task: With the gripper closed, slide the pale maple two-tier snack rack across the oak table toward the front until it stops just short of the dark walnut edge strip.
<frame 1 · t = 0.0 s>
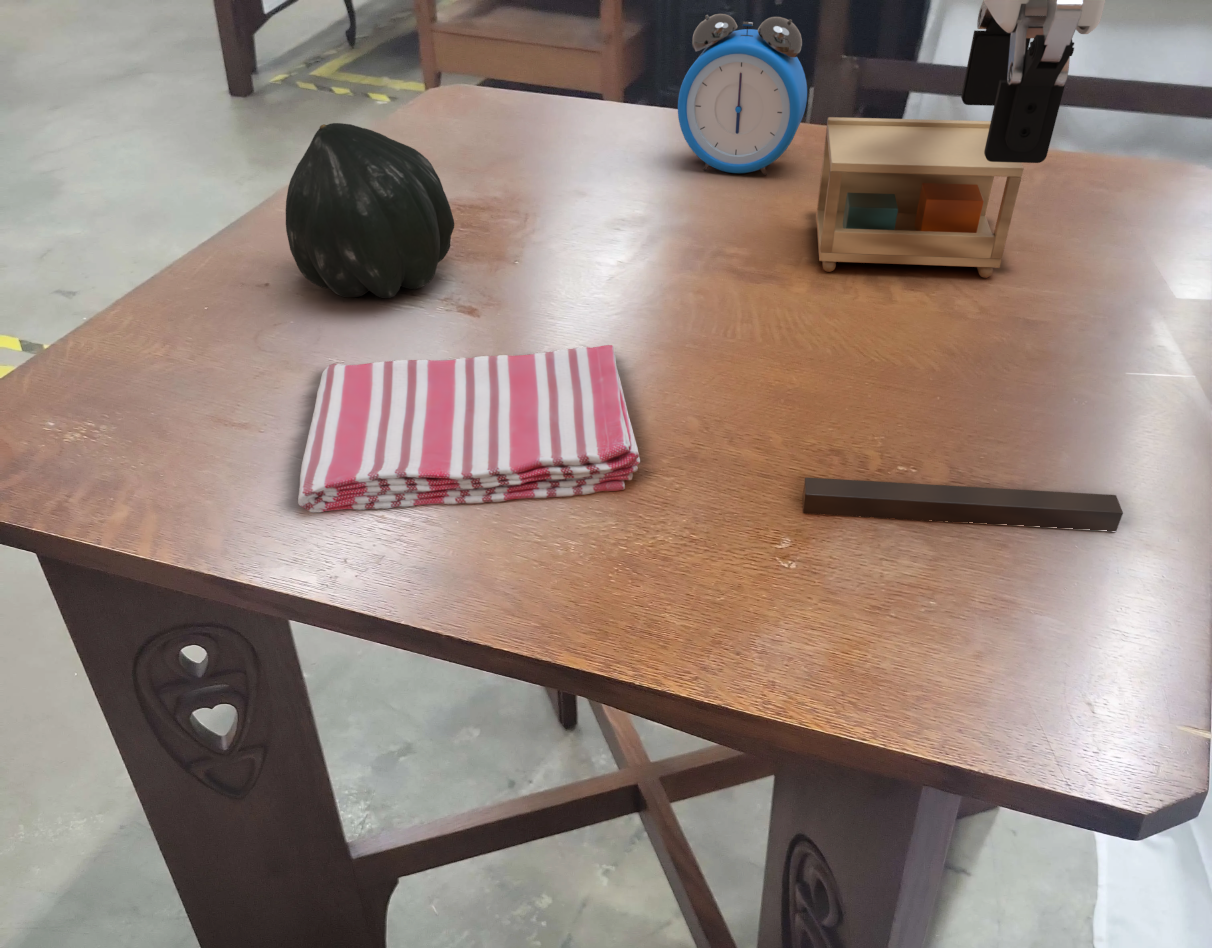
hand: (999, 130, 61), 22 cm above the table, tool pointing down, fingers open, 9 cm apart
edge strip: (955, 514, 70), on the table
snack rack: (901, 254, 100), on the table
dish towel: (471, 439, 78), on the table
squash: (380, 282, 98), on the table
alarm clock: (738, 168, 118), on the table
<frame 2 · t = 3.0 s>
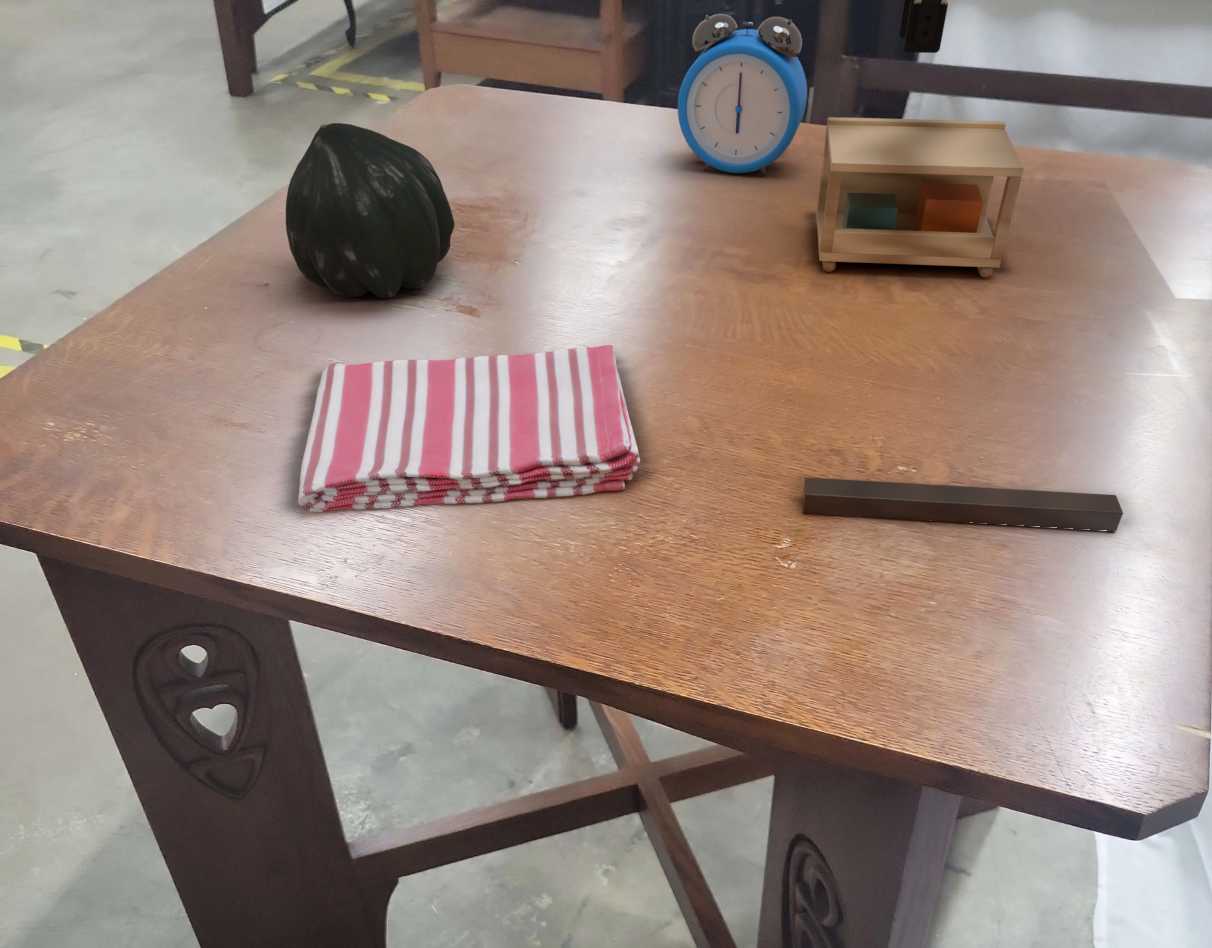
hand: (918, 42, 99), 15 cm above the table, tool pointing down, fingers open, 4 cm apart
nothing on the table moved.
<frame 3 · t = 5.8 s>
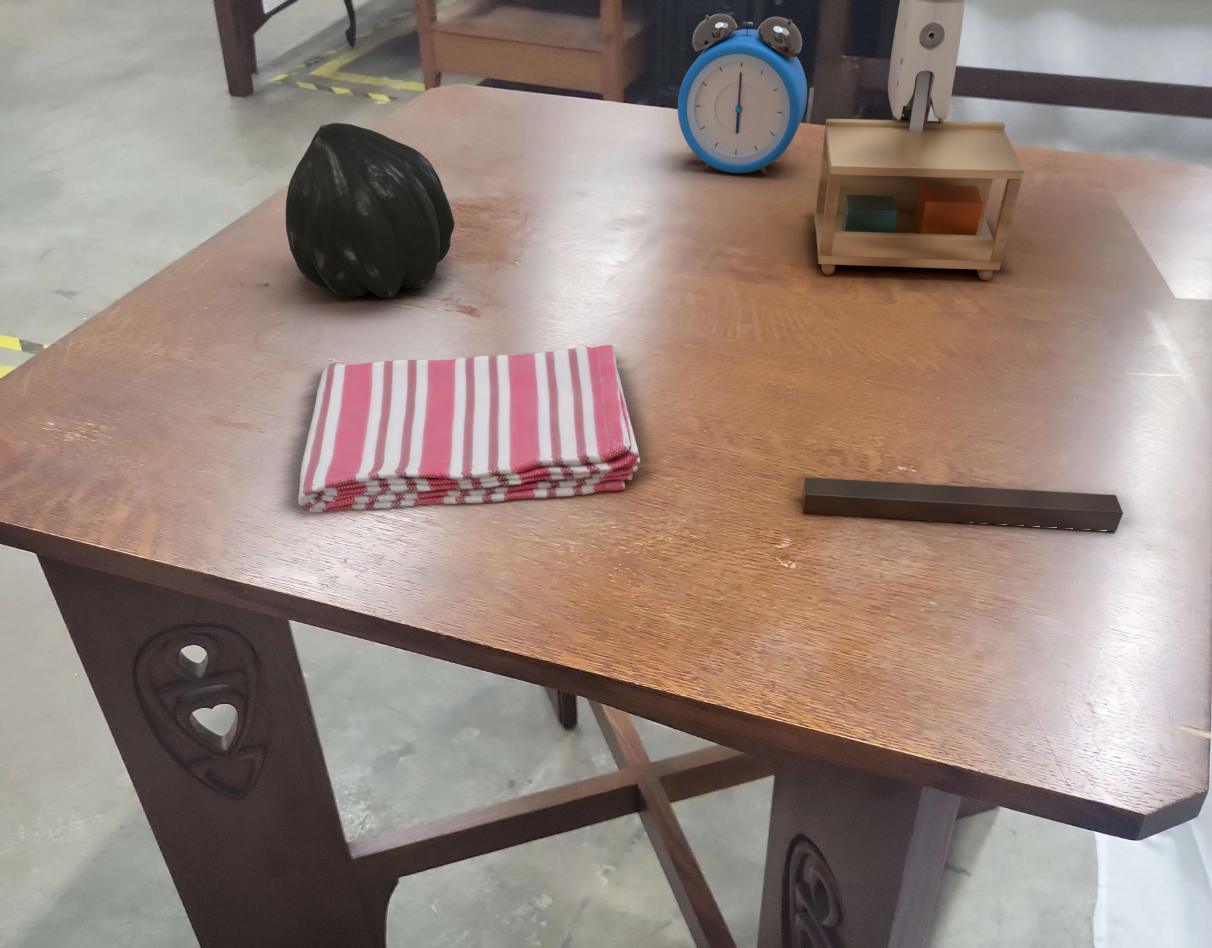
hand: (897, 184, 104), 3 cm above the table, tool pointing down, fingers closed
snack rack: (900, 256, 100), on the table, touching gripper
everything else where it was.
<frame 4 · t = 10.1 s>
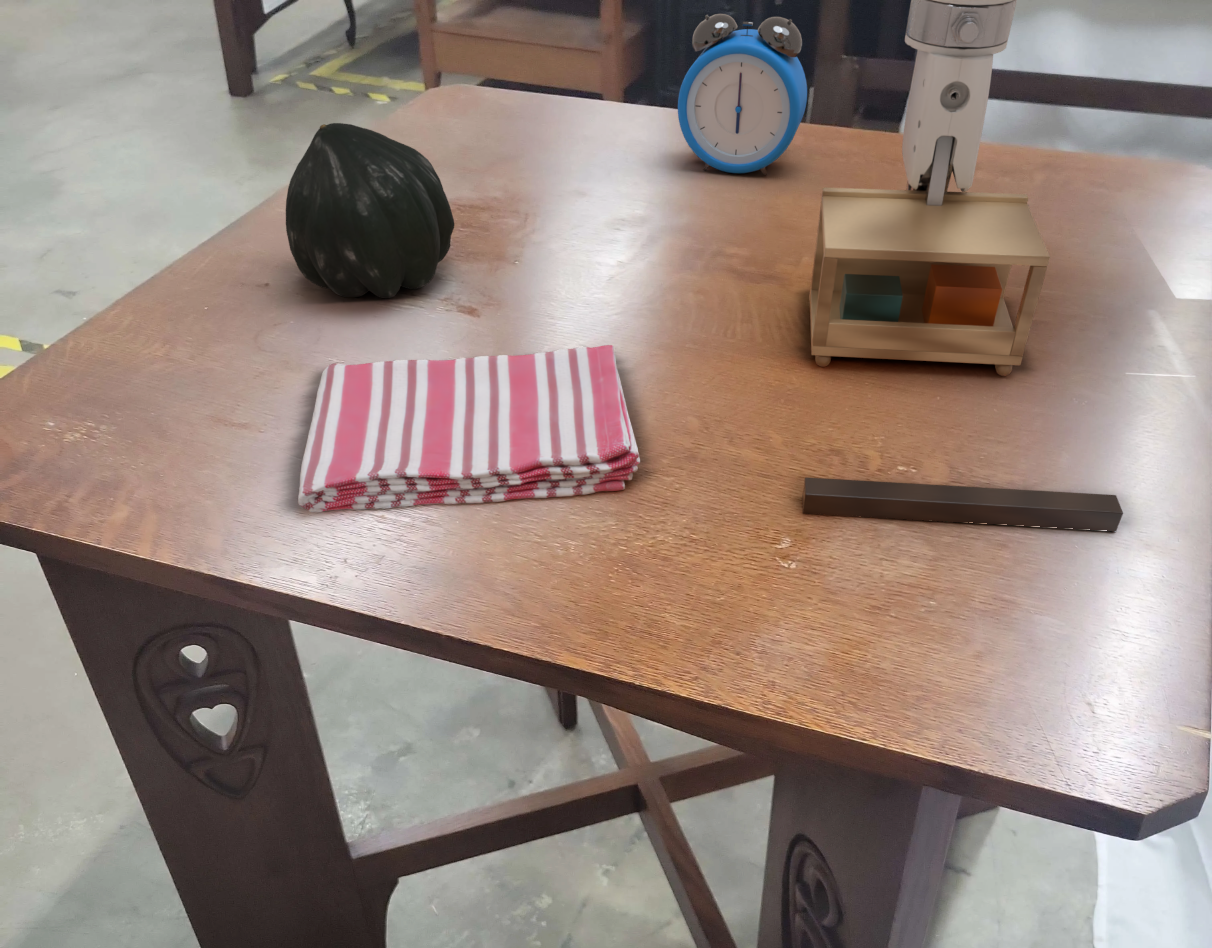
hand: (912, 257, 92), 3 cm above the table, tool pointing down, fingers closed
snack rack: (906, 343, 87), on the table, touching gripper
everything else where it was.
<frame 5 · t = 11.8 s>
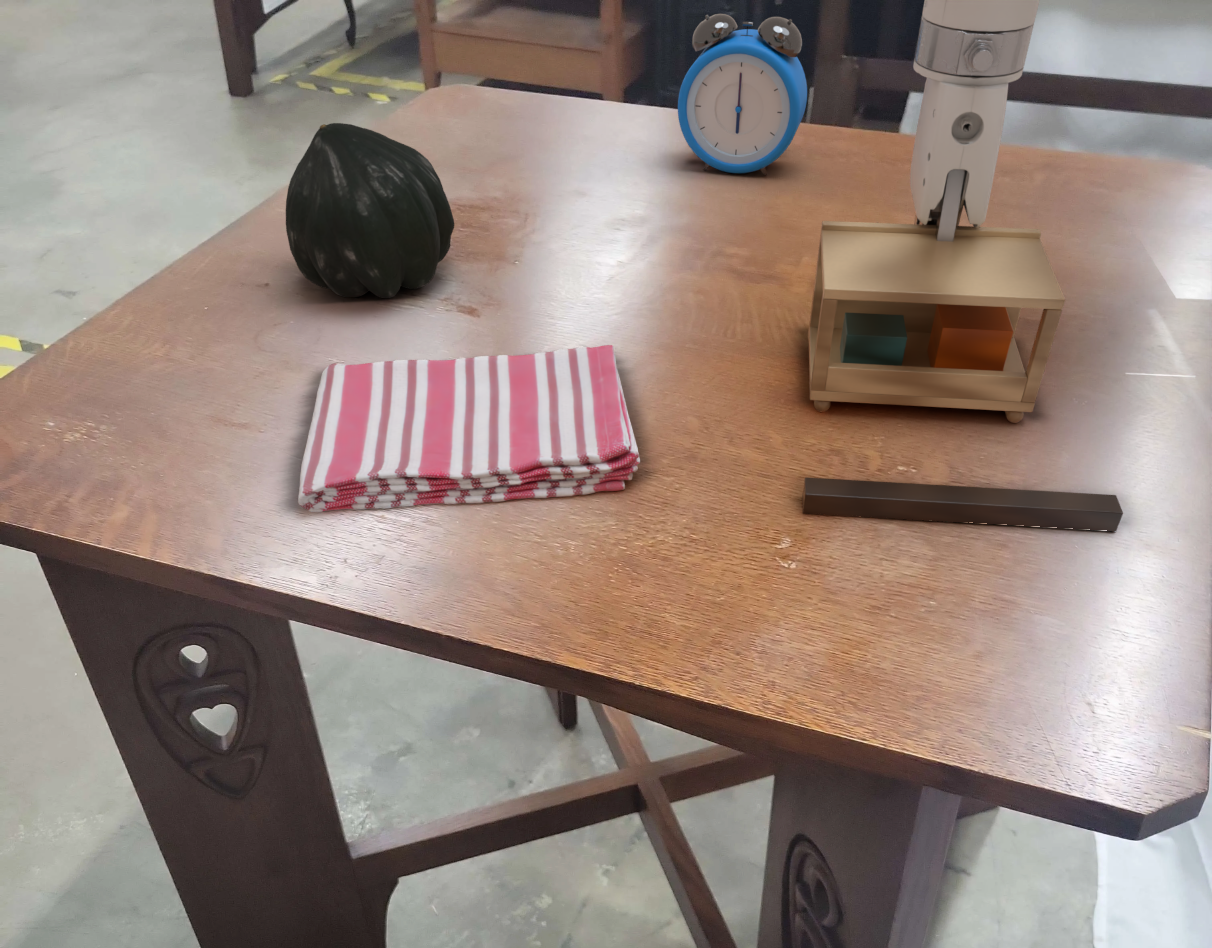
hand: (921, 293, 86), 3 cm above the table, tool pointing down, fingers closed
snack rack: (911, 385, 82), on the table, touching gripper
everything else where it was.
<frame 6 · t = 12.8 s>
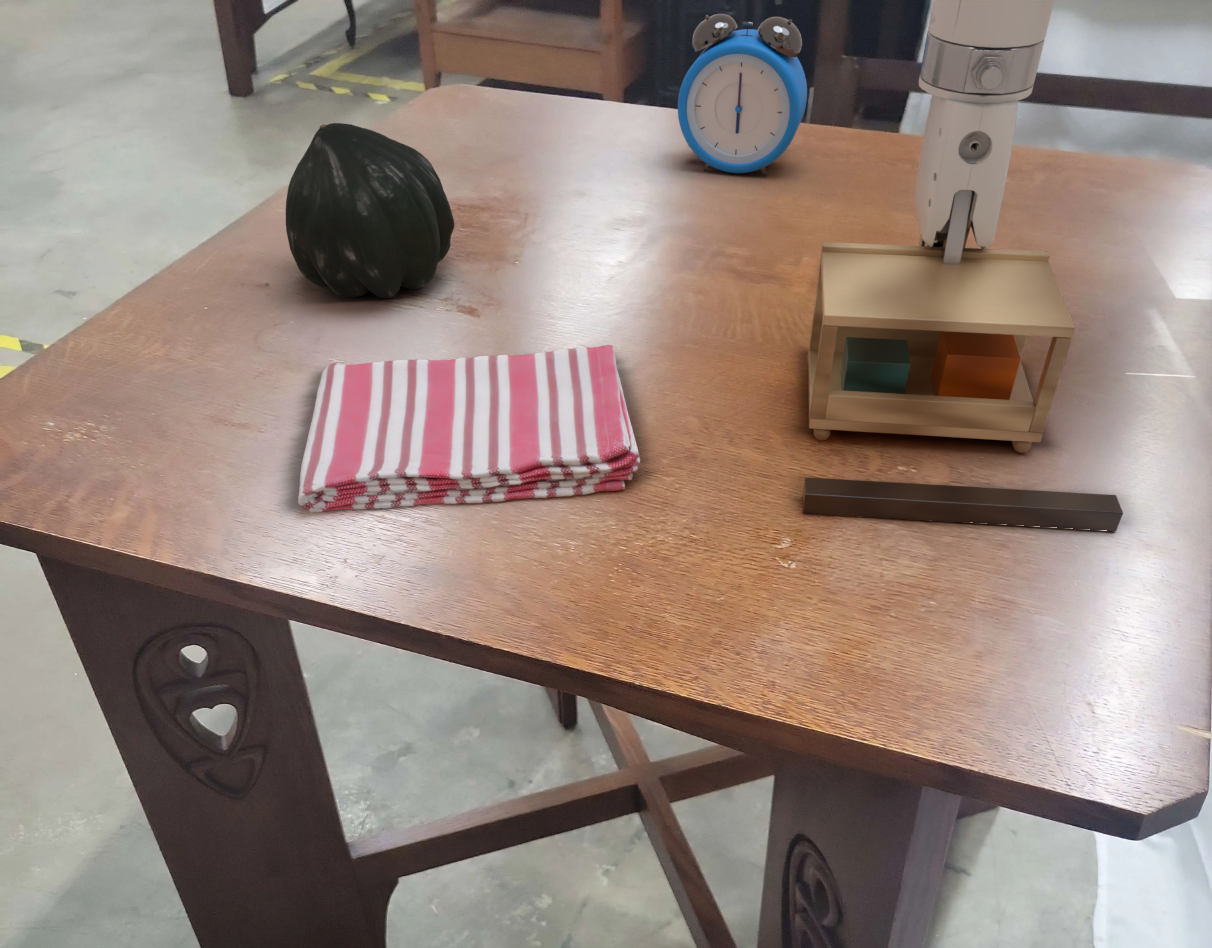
hand: (926, 315, 84), 3 cm above the table, tool pointing down, fingers closed
snack rack: (914, 412, 79), on the table, touching gripper
everything else where it was.
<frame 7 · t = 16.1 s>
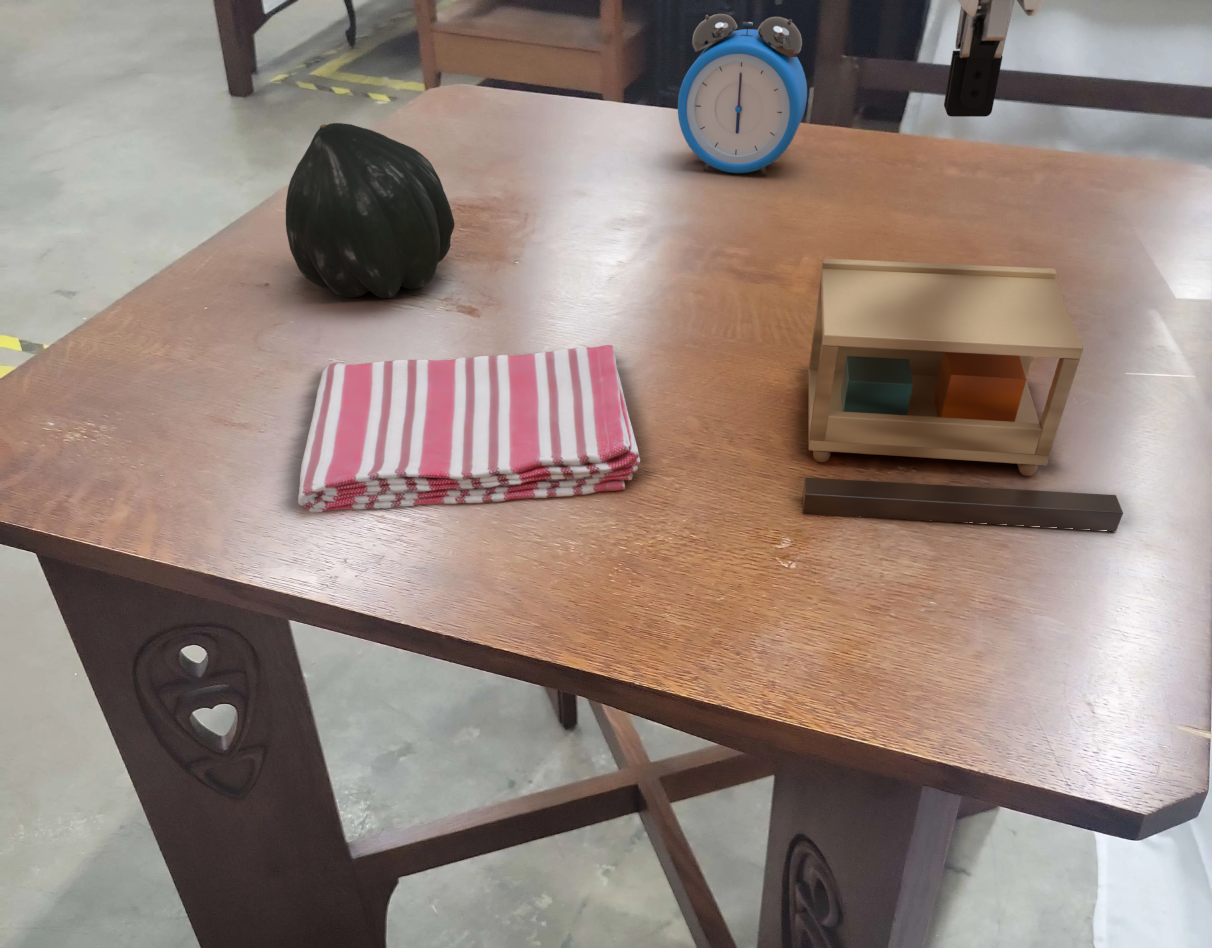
hand: (966, 112, 78), 17 cm above the table, tool pointing down, fingers closed
snack rack: (917, 433, 77), on the table
everything else where it was.
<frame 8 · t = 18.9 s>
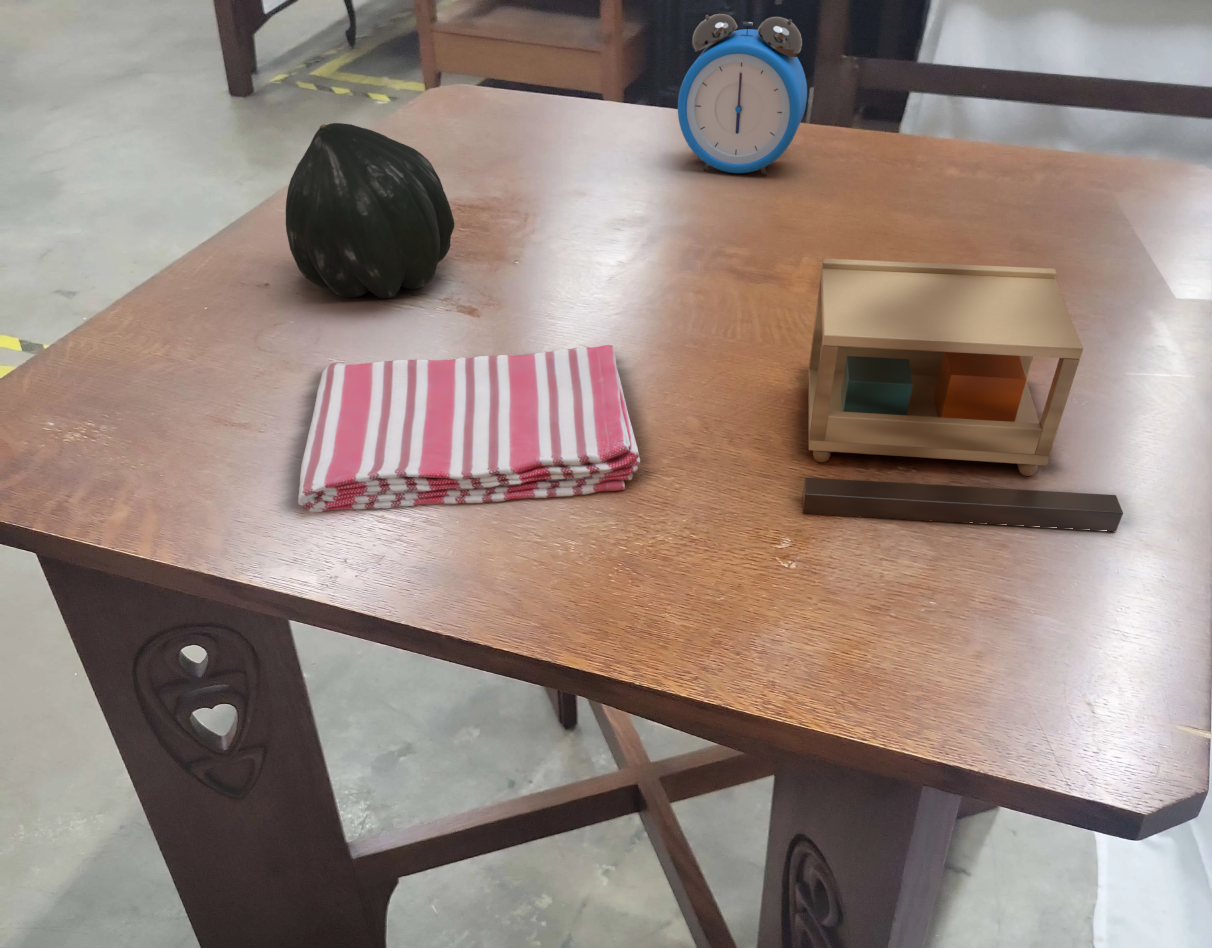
nothing on the table moved.
at the end: snack rack inside the target area on the table beside the edge strip (1.7 cm from its centre), on the table; snack rack tilted 0°; snack rack moved 31.4 cm from its start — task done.
